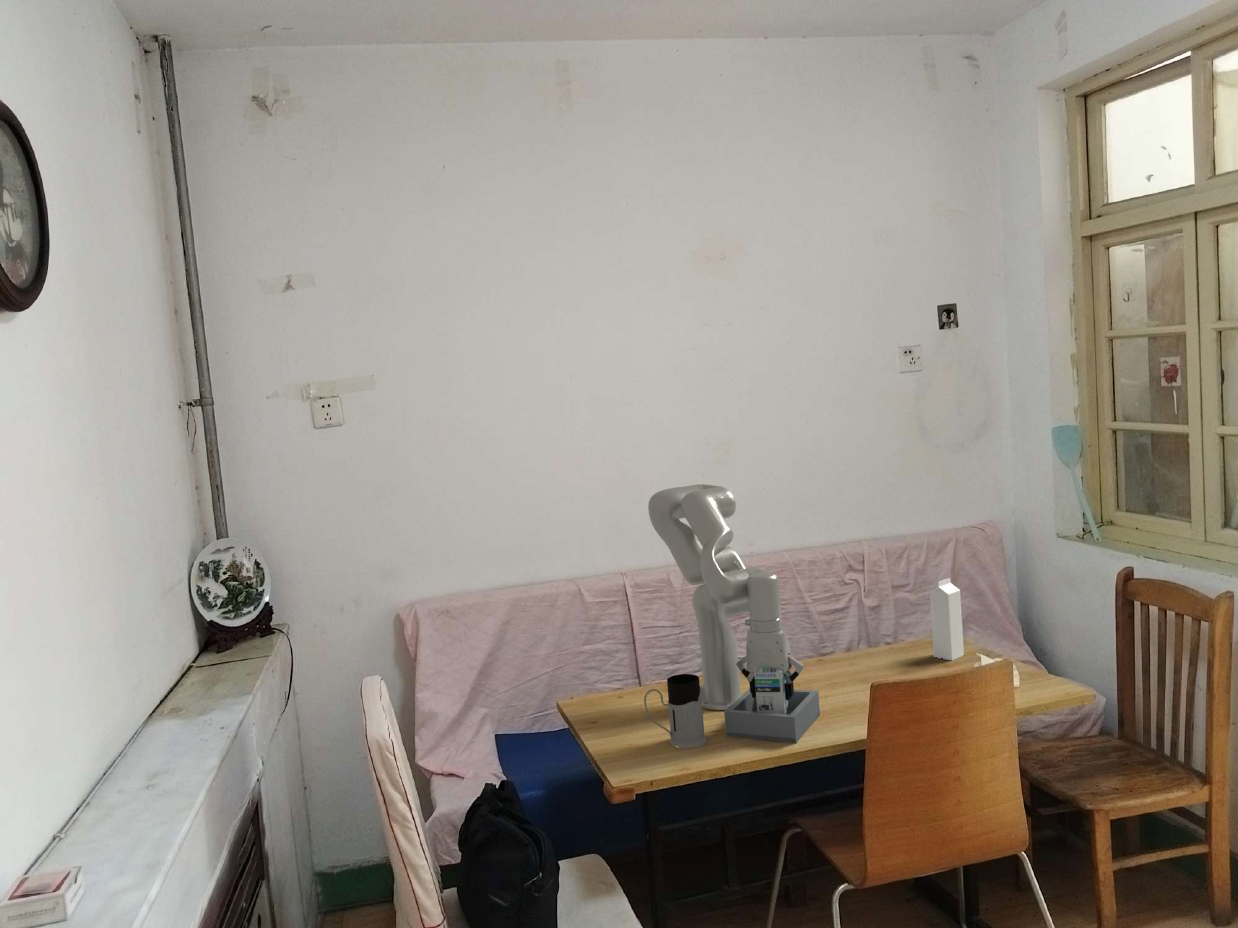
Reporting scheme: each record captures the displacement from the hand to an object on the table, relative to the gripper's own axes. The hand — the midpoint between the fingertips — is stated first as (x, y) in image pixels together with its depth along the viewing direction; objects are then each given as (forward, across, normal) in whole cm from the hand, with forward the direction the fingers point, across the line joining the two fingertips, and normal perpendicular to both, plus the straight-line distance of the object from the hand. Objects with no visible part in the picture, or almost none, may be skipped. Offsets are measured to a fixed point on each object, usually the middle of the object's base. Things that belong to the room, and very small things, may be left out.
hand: (772, 696), depth 236 cm
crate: (+7, 0, 0) cm, 7 cm away
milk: (+7, +30, +64) cm, 71 cm away
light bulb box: (+3, 0, 0) cm, 3 cm away
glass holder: (+7, -18, -16) cm, 25 cm away
